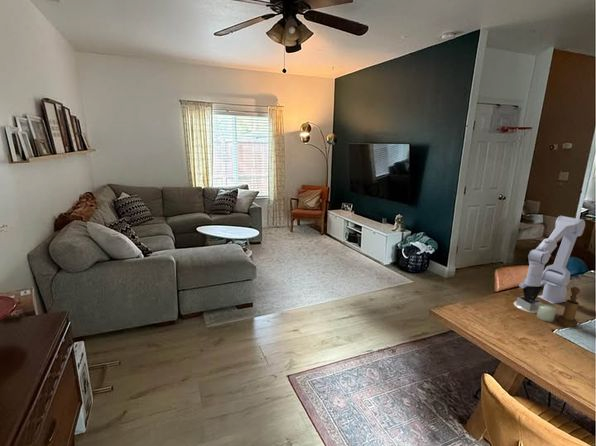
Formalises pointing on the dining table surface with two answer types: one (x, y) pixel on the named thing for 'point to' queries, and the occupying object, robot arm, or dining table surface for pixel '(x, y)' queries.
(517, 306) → the trivet
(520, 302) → the grey faceted box
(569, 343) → the dining table surface
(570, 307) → the mortar and pestle
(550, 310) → the pale green rounded block
